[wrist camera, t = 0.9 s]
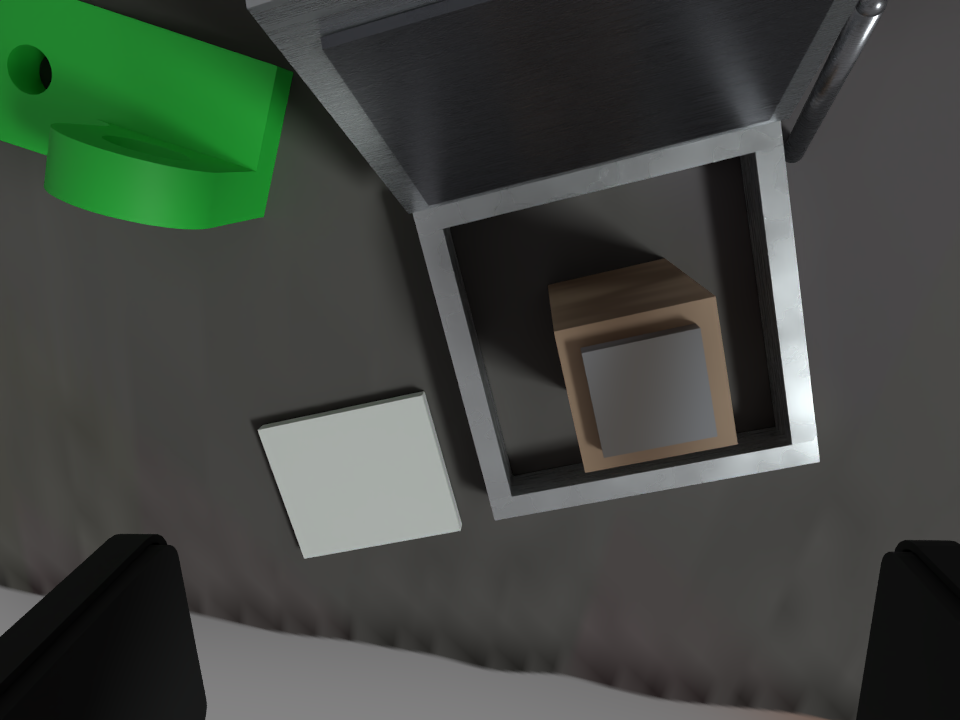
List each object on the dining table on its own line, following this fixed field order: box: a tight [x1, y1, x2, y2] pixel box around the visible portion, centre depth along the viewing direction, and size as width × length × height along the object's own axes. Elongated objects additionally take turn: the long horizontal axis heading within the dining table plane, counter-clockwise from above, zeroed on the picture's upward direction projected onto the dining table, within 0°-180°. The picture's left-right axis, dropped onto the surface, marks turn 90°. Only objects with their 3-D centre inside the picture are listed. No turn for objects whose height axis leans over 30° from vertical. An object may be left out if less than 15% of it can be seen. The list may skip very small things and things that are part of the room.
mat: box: [258, 391, 462, 559], centre depth 31 cm, size 8×7×1 cm
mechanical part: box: [0, 0, 293, 229], centre depth 24 cm, size 12×6×8 cm, turn 73°
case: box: [246, 0, 887, 520], centre depth 21 cm, size 15×20×14 cm
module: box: [548, 258, 738, 473], centre depth 25 cm, size 5×5×9 cm
